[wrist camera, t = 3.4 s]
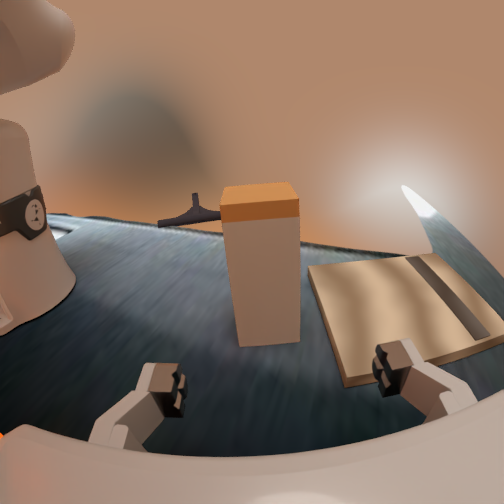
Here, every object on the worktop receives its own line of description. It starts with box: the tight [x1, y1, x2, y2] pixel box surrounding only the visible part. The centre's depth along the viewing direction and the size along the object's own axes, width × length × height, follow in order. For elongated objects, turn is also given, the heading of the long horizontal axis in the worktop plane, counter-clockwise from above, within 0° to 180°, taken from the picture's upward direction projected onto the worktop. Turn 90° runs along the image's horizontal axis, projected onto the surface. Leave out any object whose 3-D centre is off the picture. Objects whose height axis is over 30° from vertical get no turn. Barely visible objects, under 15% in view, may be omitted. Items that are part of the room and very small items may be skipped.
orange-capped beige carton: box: [220, 182, 300, 347], centre depth 23 cm, size 5×5×12 cm
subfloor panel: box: [308, 253, 504, 388], centre depth 25 cm, size 17×16×1 cm
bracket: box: [158, 193, 221, 228], centre depth 59 cm, size 14×15×3 cm
